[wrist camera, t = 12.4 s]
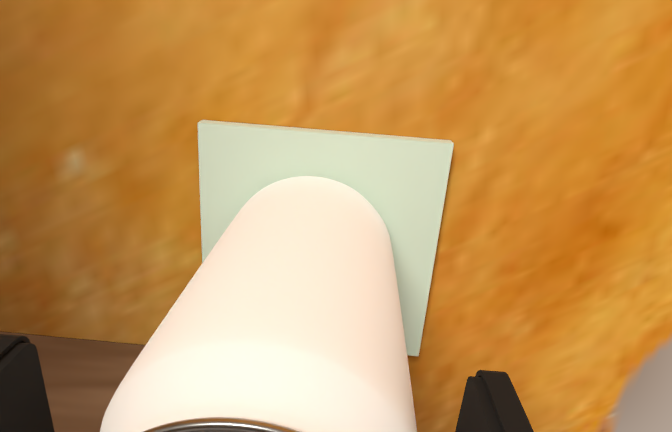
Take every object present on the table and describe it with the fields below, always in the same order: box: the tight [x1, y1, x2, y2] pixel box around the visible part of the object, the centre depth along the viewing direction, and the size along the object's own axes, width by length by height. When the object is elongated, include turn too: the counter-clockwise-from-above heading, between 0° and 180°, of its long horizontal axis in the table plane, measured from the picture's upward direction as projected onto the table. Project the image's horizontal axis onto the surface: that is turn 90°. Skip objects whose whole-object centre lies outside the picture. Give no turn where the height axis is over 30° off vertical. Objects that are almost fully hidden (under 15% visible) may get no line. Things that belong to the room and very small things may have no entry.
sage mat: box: [198, 120, 454, 356], centre depth 19 cm, size 10×10×1 cm
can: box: [100, 176, 417, 432], centre depth 13 cm, size 6×6×12 cm
